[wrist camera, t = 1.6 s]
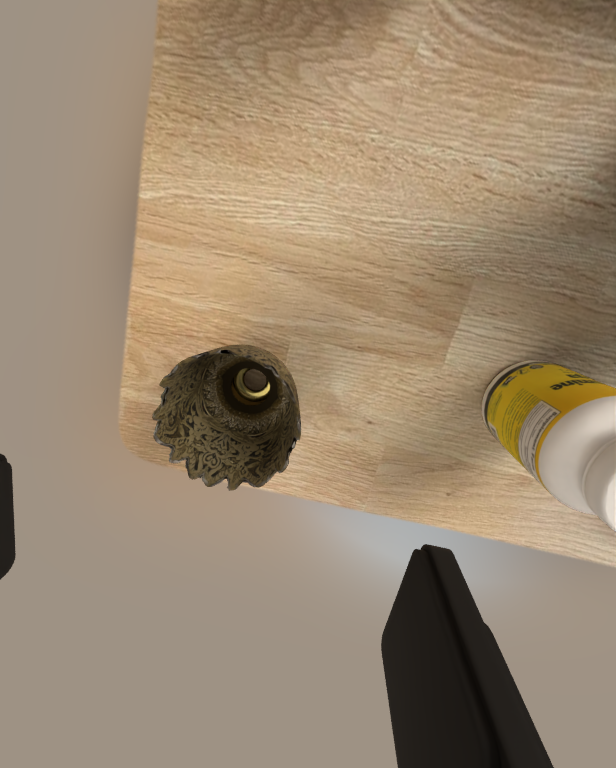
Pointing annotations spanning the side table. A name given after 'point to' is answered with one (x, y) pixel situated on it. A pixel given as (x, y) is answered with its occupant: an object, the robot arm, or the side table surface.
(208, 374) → the ornate candle holder
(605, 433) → the pill bottle
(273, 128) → the side table surface
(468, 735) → the robot arm
